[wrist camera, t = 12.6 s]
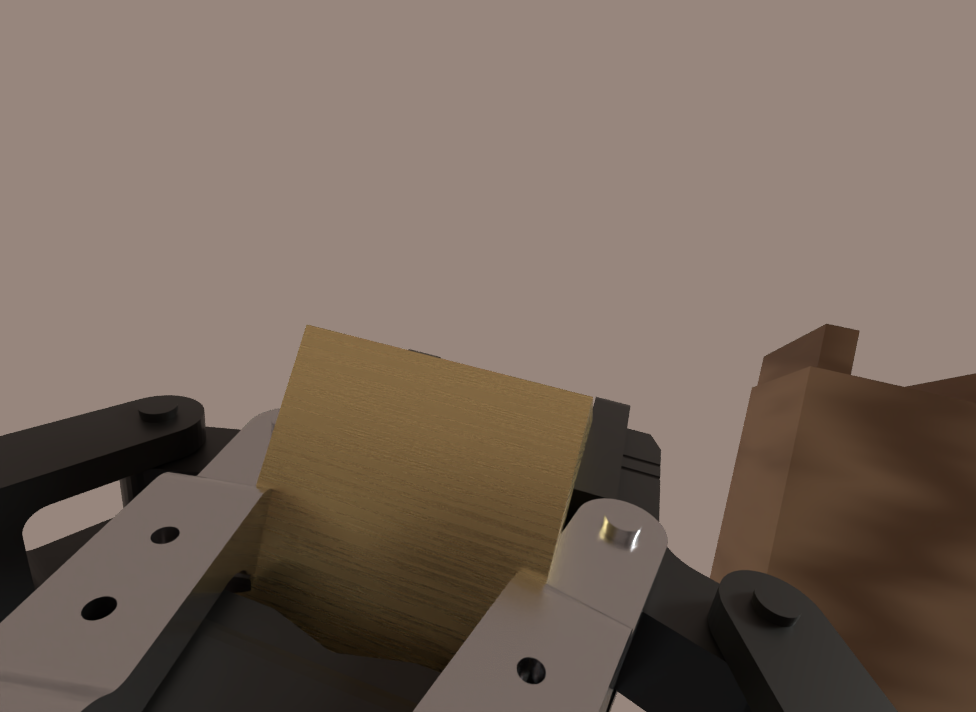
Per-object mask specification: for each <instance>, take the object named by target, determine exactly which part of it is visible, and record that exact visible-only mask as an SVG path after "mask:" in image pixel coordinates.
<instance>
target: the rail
mask: <svg viewBox="0 0 976 712" xmlns="http://www.w3.org/2000/svg"><path fill="white" fill-rule="evenodd" d="M592 415H593V397H590V396H587V395H582V394H578V393H575V392H570V391H567V390H563V389H559V388H555V387H551V386H547V385H543V384H539V383H535V382H531V381H527V380H523V379H519V378H516V377H512V376H508V375H504V374H500V373H496V372H492V371H488V370H484V369H480V368H476V367H472V366H468V365H464V364H460V363H456V362H453V361H448V360H445V359H441V358H437V357H433V356H429V355H425V354H421V353H417V352H413V351H409V350H405V349H401V348H397V347H393V346H390V345H386V344H382V343H377V342H373V341H370V340H366V339H362V338H357V337H354V336H350V335H346V334H342V333H338V332H334V331H330V330H326V329H323V328H319V327H314V326H311V325H306V328H305V332H304V335H303V338H302V341H301V345H300V348H299V351H298V354H297V357H296V361H295V364H294V367H293V370H292V373H291V376H290V379H289V383H288V386H287V389H286V392H285V395H284V398H283V401H282V405H281V408H280V411H279V414H278V417H277V420H276V424H275V427H274V430H273V433H272V436H271V439H270V443H269V446H268V449H267V452H266V455H265V458H264V462H263V465H262V468H261V471H260V474H259V477H258V481H257V484H256V486H261V487H267V488H273V489H272V494H271V498H270V503H269V508H268V513H267V518H266V523H265V527H264V532H263V537H262V542H261V547H260V551H259V556H258V561H257V566H256V571H255V575H254V580H253V585H252V590H251V591H248V592H240V593H235V594H237V595H240V596H243V597H245V598H248V599H250V600H253V601H256V602H258V603H261V604H263V605H266V606H269V607H271V608H274V609H275V610H276V611H278V612H279V613H280V614H282V615H283V616H284V617H286V618H287V619H288V620H290V621H291V622H292V623H293V624H295V625H296V626H297V627H299V628H300V629H301V630H303V631H304V632H305V633H307V634H308V635H309V636H310V637H312V638H313V639H314V640H316V641H317V642H318V643H320V644H321V645H322V646H324V647H325V648H327V649H328V650H330V651H333V652H335V653H340V654H348V655H356V656H364V657H372V658H379V659H387V660H395V661H403V662H410V663H417V664H419V665H422V666H425V667H427V668H430V669H432V670H435V671H438V672H440V673H442V672H443V670H444V669H445V668H446V666H447V665H448V664H449V662H450V661H451V659H452V658H453V657H454V655H455V654H456V653H457V651H458V650H459V649H460V647H461V646H462V645H463V643H464V642H465V641H466V639H467V638H468V637H469V635H470V634H471V633H472V631H473V630H474V629H475V627H476V626H477V625H478V623H479V622H480V621H481V619H482V618H483V616H484V615H485V614H486V612H487V611H488V610H489V608H490V607H491V606H492V604H493V603H494V602H495V600H496V599H497V598H498V596H499V595H500V594H501V592H502V591H503V590H504V588H505V587H506V586H507V584H508V583H509V582H510V580H511V579H512V578H513V577H514V576H515V575H516V574H517V573H518V572H519V571H523V572H525V573H527V574H529V575H531V576H533V577H535V578H537V579H539V580H541V581H543V582H544V583H547V582H548V578H549V575H550V571H551V567H552V564H553V560H554V556H555V553H556V549H557V546H558V542H559V538H560V535H561V533H562V532H563V530H564V526H565V522H566V517H567V513H568V509H569V505H570V501H571V497H572V492H573V488H574V485H575V481H576V477H577V474H578V470H579V466H580V463H581V459H582V456H583V452H584V448H585V445H586V441H587V437H588V434H589V430H590V426H591V423H592Z"/></svg>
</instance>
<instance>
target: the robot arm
mask: <svg viewBox="0 0 976 712" xmlns="http://www.w3.org/2000/svg"><path fill="white" fill-rule="evenodd" d="M409 351H413V352H417V353H421V354H425V355H429V354H426V353H422V352H418V351H414V350H409ZM429 356H433V355H429ZM433 357H437V358H440V357H438V356H433ZM279 411H280V409H274V410H270V411H267V412H264V413H261V414H259V415H258V416H256V417H254V418H253V419H252V420H250V421H249V422H248V423H247V425H246V426H245V427H244V428H243V429H242V430H237V429H226V428H215V427H205V414H204V407H203V406H202V405H201V404H200V403H199V402H198V401H196V400H194V399H191V398H187V397H182V396H172V395H168V396H167V395H166V396H154V397H148V398H143V399H139V400H135V401H131V402H127V403H124V404H120V405H116V406H112V407H109V408H105V409H102V410H97V411H93V412H90V413H86V414H83V415H78V416H75V417H71V418H67V419H63V420H60V421H56V422H52V423H48V424H44V425H40V426H37V427H33V428H29V429H26V430H22V431H18V432H14V433H10V434H6V435H3V436H0V712H610V711H611V708H612V705H613V702H614V700H615V697H616V695H617V692H619V693H621V694H622V695H623V696H625V697H626V698H628V699H629V700H631V701H632V702H633V703H635V704H636V705H637V706H639V707H640V708H642V709H643V710H645V711H646V712H898V711H897V710H896V709H895V707H894V706H893V705H892V703H891V702H890V701H889V699H888V698H887V697H886V695H885V694H884V693H883V691H882V690H881V689H880V687H879V686H878V685H877V684H876V682H875V681H874V680H873V678H872V677H871V676H870V674H869V673H868V672H867V670H866V669H865V668H864V666H863V665H862V664H861V663H860V661H859V660H858V659H857V657H856V656H855V655H854V653H853V652H852V651H851V649H850V648H849V647H848V645H847V644H846V643H845V641H844V640H843V639H842V638H841V636H840V635H839V634H838V632H837V631H836V630H835V628H834V627H833V626H832V624H831V623H830V622H829V620H828V619H827V618H826V616H825V615H824V614H823V613H822V611H821V610H820V609H819V608H818V607H817V605H816V604H815V603H814V602H813V601H812V600H811V599H809V598H808V597H807V596H806V595H805V594H803V593H802V592H801V591H800V590H798V589H797V588H795V587H793V586H792V585H790V584H788V583H787V582H785V581H783V580H781V579H779V578H776V577H774V576H771V575H769V574H766V573H762V572H758V571H751V570H738V571H733V572H731V573H728V574H727V575H726V576H724V577H723V579H722V580H721V582H720V584H719V583H718V582H716V581H714V580H712V579H710V578H708V577H707V576H704V575H703V574H701V573H699V572H697V571H696V570H694V569H692V568H691V567H689V566H688V565H686V564H685V563H683V562H682V561H681V560H680V559H679V558H677V557H676V556H675V555H674V554H673V553H672V552H671V551H670V550H669V548H668V547H667V543H668V540H667V535H666V532H665V530H664V528H663V527H662V525H661V524H660V523H659V502H660V501H659V500H660V480H659V479H660V461H661V457H660V456H661V449H660V448H659V447H658V445H657V443H656V442H655V440H654V439H653V437H652V436H651V435H650V434H646V433H643V432H639V431H635V430H631V429H627V424H628V418H629V411H630V405H626V404H622V403H618V402H614V401H610V400H606V399H602V398H598V397H596V399H595V403H594V406H593V415H592V423H591V426H590V430H589V434H588V437H587V441H586V445H585V448H584V452H583V456H582V459H581V463H580V466H579V470H578V474H577V477H576V481H575V485H574V488H573V492H572V497H571V501H570V505H569V509H568V513H567V517H566V522H565V526H564V530H563V532H562V533H561V535H560V538H559V542H558V546H557V549H556V553H555V556H554V560H553V564H552V567H551V571H550V575H549V578H548V582H547V583H544V582H543V581H541V580H539V579H537V578H535V577H533V576H531V575H529V574H527V573H525V572H523V571H519V572H518V573H517V574H516V575H515V576H514V577H513V578H512V579H511V580H510V582H509V583H508V584H507V586H506V587H505V588H504V590H503V591H502V592H501V594H500V595H499V596H498V598H497V599H496V600H495V602H494V603H493V604H492V606H491V607H490V608H489V610H488V611H487V612H486V614H485V615H484V616H483V618H482V619H481V621H480V622H479V623H478V625H477V626H476V627H475V629H474V630H473V631H472V633H471V634H470V635H469V637H468V638H467V639H466V641H465V642H464V643H463V645H462V646H461V647H460V649H459V650H458V651H457V653H456V654H455V655H454V657H453V658H452V659H451V661H450V662H449V664H448V665H447V666H446V668H445V669H444V670H443V672H442V673H440V672H438V671H435V670H432V669H430V668H427V667H425V666H422V665H419V664H417V663H410V662H403V661H395V660H387V659H379V658H372V657H364V656H356V655H348V654H340V653H335V652H333V651H330V650H328V649H327V648H325V647H324V646H322V645H321V644H320V643H318V642H317V641H316V640H314V639H313V638H312V637H310V636H309V635H308V634H307V633H305V632H304V631H303V630H301V629H300V628H299V627H297V626H296V625H295V624H293V623H292V622H291V621H290V620H288V619H287V618H286V617H284V616H283V615H282V614H280V613H279V612H278V611H276V610H275V609H274V608H271V607H269V606H266V605H263V604H261V603H258V602H256V601H253V600H250V599H248V598H245V597H243V596H240V595H237V594H235V593H240V592H248V591H251V590H252V585H253V580H254V575H255V571H256V566H257V561H258V556H259V551H260V547H261V542H262V537H263V532H264V527H265V523H266V518H267V513H268V508H269V503H270V498H271V494H272V489H273V488H267V487H261V486H256V484H257V481H258V477H259V474H260V471H261V468H262V465H263V462H264V458H265V455H266V452H267V449H268V446H269V443H270V439H271V436H272V433H273V430H274V427H275V424H276V420H277V417H278V414H279ZM117 480H120V487H121V494H122V501H123V509H122V510H121V511H120V512H119V513H118V514H117V515H116V516H115V517H114V518H112V519H109V520H106V521H104V522H101V523H99V524H96V525H94V526H92V527H89V528H86V529H84V530H81V531H79V532H76V533H74V534H72V535H69V536H67V537H64V538H62V539H59V540H56V541H54V542H52V543H49V544H46V545H44V546H41V547H39V548H36V549H33V550H30V551H26V550H25V545H24V541H23V536H22V531H23V528H24V525H25V523H26V522H27V520H28V519H29V518H30V517H31V516H32V515H33V514H34V513H35V512H37V511H38V510H39V509H41V508H43V507H45V506H48V505H50V504H53V503H56V502H58V501H61V500H64V499H67V498H70V497H73V496H75V495H78V494H80V493H84V492H86V491H89V490H92V489H95V488H98V487H101V486H103V485H106V484H109V483H112V482H115V481H117Z"/></svg>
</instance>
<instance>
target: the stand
mask: <svg viewBox="0 0 976 712" xmlns="http://www.w3.org/2000/svg"><path fill="white" fill-rule="evenodd" d="M858 336H859V330H853V329H849V328H844V327H839V326H834V325H829V324H825V325H823V326H821V327H819V328H818V329H816V330H814V331H812V332H810V333H808V334H806V335H804V336H802V337H800V338H799V339H797V340H795V341H793V342H791V343H789V344H787V345H785V346H783V347H781V348H779V349H778V350H776V351H774V352H772V353H770V354H768V355H766V356H765V357H764V358H763V363H762V367H761V372H760V376H759V381H758V385H757V386H756V387H753V388H752V390H751V395H750V400H749V404H748V408H747V413H746V417H745V422H744V426H743V431H742V435H741V441H740V444H739V449H738V454H737V458H736V463H735V467H734V472H733V476H732V481H731V485H730V490H729V494H728V499H727V503H726V508H725V512H724V517H723V521H722V526H721V530H720V535H719V539H718V544H717V549H716V553H715V557H714V562H713V566H712V571H711V576H710V579H712V580H714V581H716V582H718V583H719V584H720V582H721V580H722V579H723V577H724V576H726V575H727V574H728V573H731V572H733V571H738V570H751V571H758V572H762V573H766V574H769V575H771V576H774V577H776V578H779V579H781V580H783V581H785V582H787V583H788V584H790V585H792V586H793V587H795V588H797V589H798V590H800V591H801V592H802V593H803V594H805V595H806V596H807V597H808V598H809V599H811V600H812V601H813V602H814V603H815V604H816V605H817V607H818V608H819V609H820V610H821V611H822V613H823V614H824V615H825V616H826V618H827V619H828V620H829V622H830V623H831V624H832V626H833V627H834V628H835V630H836V631H837V632H838V634H839V635H840V636H841V638H842V639H843V640H844V641H845V643H846V644H847V645H848V647H849V648H850V649H851V651H852V652H853V653H854V655H855V656H856V657H857V659H858V660H859V661H860V663H861V664H862V665H863V666H864V668H865V669H866V670H867V672H868V673H869V674H870V676H871V677H872V678H873V680H874V681H875V682H876V684H877V685H878V686H879V687H880V689H881V690H882V691H883V693H884V694H885V695H886V697H887V698H888V699H889V701H890V702H891V703H892V705H893V706H894V707H895V709H896V710H897V711H898V712H976V374H971V375H965V376H960V377H955V378H949V379H944V380H939V381H934V382H928V383H923V384H918V385H913V386H907V387H902V386H897V385H893V384H888V383H884V382H879V381H875V380H871V379H866V378H862V377H857V376H852V375H851V370H852V366H853V361H854V356H855V351H856V346H857V341H858Z"/></svg>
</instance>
